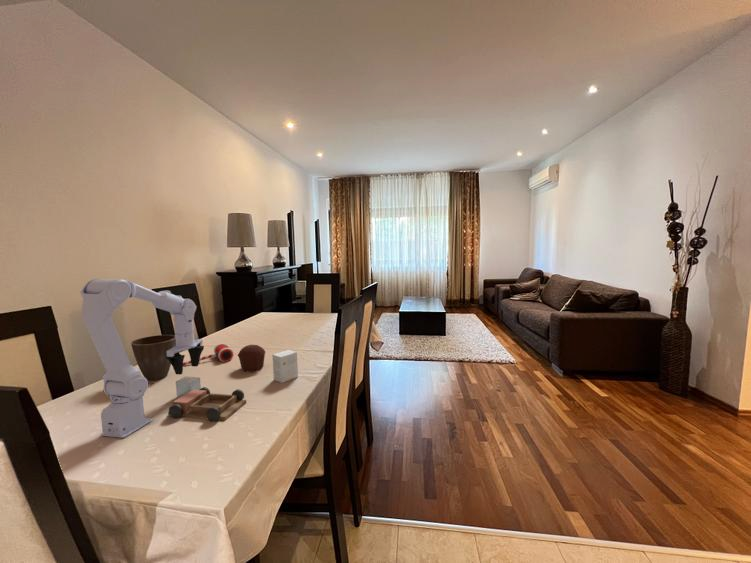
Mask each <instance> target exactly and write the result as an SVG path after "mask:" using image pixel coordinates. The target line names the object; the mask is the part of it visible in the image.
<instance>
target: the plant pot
mask: <svg viewBox="0 0 751 563" xmlns="http://www.w3.org/2000/svg"><path fill="white" fill-rule="evenodd" d="M130 344H131V345H130V346H131V349H132V352H133V355H134V358H135V361H136V364H137V365H138V368H139V371H140V373H141V375H142V376H143V377H145V378H146V379H147V381H148V380H149V381H150V380H153V381H158V379H159V380H162V379H165V378H167V377H168V375H169V372H170V368H171V366H172V364H171V363H170V362H169V360H168V359H167V358H166V355H167V351H168V350H170V349H171V348H173V347H174V346H176V340H175V335H173V334H157V335H149V336H145V337H141V338H137V339H134V340H132V341H131V342H130ZM164 377H165V378H164ZM149 381H148V382H149ZM150 382H151V381H150Z"/></svg>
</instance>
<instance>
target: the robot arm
mask: <svg viewBox="0 0 751 563" xmlns="http://www.w3.org/2000/svg"><path fill="white" fill-rule="evenodd" d="M79 292H80V295H81V297H82V306H81V319H82V321H83V323H84V325H85V327H86V330H87V332H88V334H89V336H90V339H91V340H92V342H93V345H94V347H95V349H96V352H97V353H98V356H99V358H100V360H101V362H102V364H103V366H104V369H105V371H106V372H105V373H104V374H103V376H102V380H103V392H104V394H106V395H107V396H109V400H111V401H110V403H108V405H107V406H106V407H105V408H103V409H102V411H101V413H100V419H101V430H102V432H100V437H111V438H120V439H123V438H124V439H125V438H127V437H128V436H130V435H131V434H133V433H134V432H136V431H137V430H139V429H141V428H142V427H145V426H146V425H148V424H149V423H151V422H152V421H153V418H147V417H146V416H145V405H144V396H145V393H146V392H147V390H148V388H149V387H148V386H149V381H148V380H147V379H146V378H145V377H144V376H143V374H142V372H141V370H140V369H138V368H136V367H135V366H134V365H132V364H131V362H130V360H129V356H128V355H127V352H126V349H125V347H124V344H123V342H122V340H121V337H120V336H119V332H118V331H117V329H116V326H115V324H114V322H113V319H112V315H113V314H114V312H115V311H116V310H117V309H118V308H120V307H121V306H122V305H123V304H124V303H125V302H126V301H127V300H128V299H129V298H136V299H137V300H138V299H139V300H142V301H147V302H150V303H151V304H152V306H153V307H154V308H156V309H160V310H161V311H165V312H169V314H170V315H172V316H173V324H174V336H175V346H174V347H173V348H171V349H170V350H168V351H167V355H166V358H167V359H168V360H169V362H170V363H171V366H172V368H173V371H174V373H175V375H182V374H183V372H184V371H183V370H184V366H183V363H184V361H185V360H184V359H185V357H186V355H185V354H181V353H183V352H186V351H187V352H188V353H189V354H188V355H189V358H190V359H189V360H190V361H191V364H190V365H191V367H198V366H199V362H200V361H199V359H200V358H201V356H202V353H203V350H204V348H205V346H204V344H203V339H200V338H197V339H195V329H194V328H195V327H194V319H195V313H196V311H197V305H196V303H195V302H194V301H193V300H192V299H191V298H183V297H182V295H180V294H179V295H175V294H173V293H172V292H171V290H161V291H158V292H156V291H154V290H152V289H149V288H147V287H145V286H142V285H139V284H137V283H135V282H134V281H131V280H125V279H122V278H116V279H115V278H114V279H112V278H111V279H109V278H108V279H106V278H105V279H102V278H93V279H90V280H88V281H87V282H86V283H85V285H84V286H83V287H82V289H81V290H80V291H79Z"/></svg>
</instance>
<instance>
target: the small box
mask: <svg viewBox="0 0 751 563" xmlns="http://www.w3.org/2000/svg"><path fill="white" fill-rule="evenodd" d="M272 371H273V373H272V374H273V381H274V382H275V381H276V382H278V383H280V384H283V383H285V382H288V381H291V380H293V379H296V378H298V377H299V370H298V352H297V351H294V350H291V349H287V350H283V351H280V352H277V353H273V354H272Z"/></svg>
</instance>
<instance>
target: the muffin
mask: <svg viewBox="0 0 751 563" xmlns="http://www.w3.org/2000/svg"><path fill="white" fill-rule="evenodd" d="M265 355H266V350H265V349H264V348H263V347H262V346H260V345H259V344H258V345H257V344H248V345H245V346H244V347H242V348H241V349H240V351H239V352H238V353H237V357H238V359H239V364H240V367H241V370H242V371H244V372H247V371H248V372H249V373H250V372H256V371H259V370H262V369H263V367H264V364H265V357H266V356H265Z"/></svg>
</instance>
